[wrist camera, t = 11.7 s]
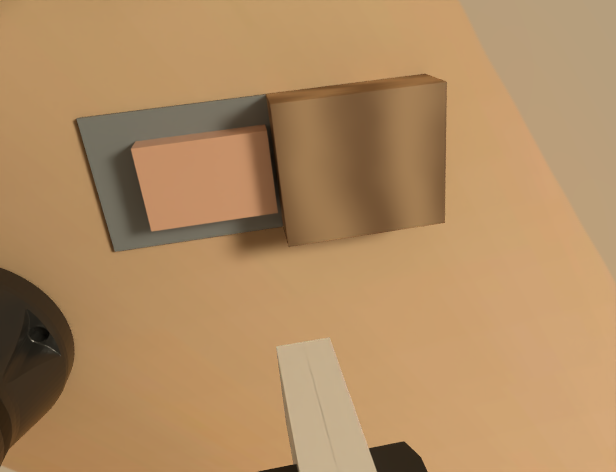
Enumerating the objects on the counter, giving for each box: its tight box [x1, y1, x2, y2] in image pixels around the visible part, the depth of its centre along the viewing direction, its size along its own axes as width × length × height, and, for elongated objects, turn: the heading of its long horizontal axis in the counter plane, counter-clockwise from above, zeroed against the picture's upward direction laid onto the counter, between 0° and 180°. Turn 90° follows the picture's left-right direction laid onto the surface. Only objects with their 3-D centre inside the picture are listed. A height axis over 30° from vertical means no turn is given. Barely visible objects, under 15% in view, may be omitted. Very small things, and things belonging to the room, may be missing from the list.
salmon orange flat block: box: [131, 124, 278, 231], centre depth 37 cm, size 9×6×2 cm, turn 96°
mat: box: [77, 94, 283, 252], centre depth 37 cm, size 13×10×1 cm
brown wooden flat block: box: [266, 74, 447, 247], centre depth 37 cm, size 12×10×4 cm
